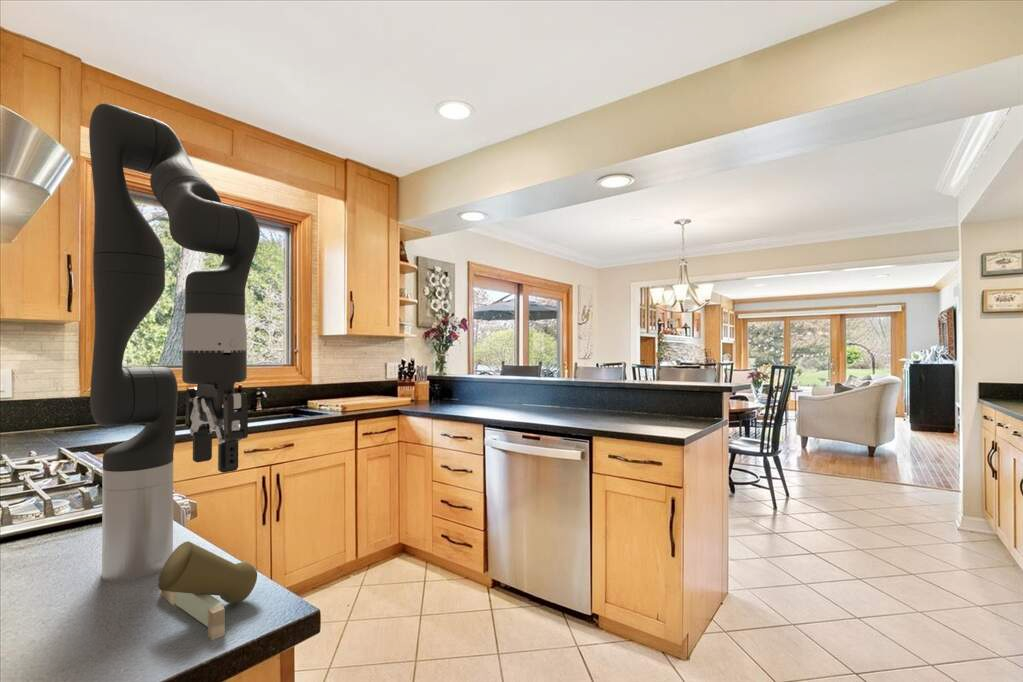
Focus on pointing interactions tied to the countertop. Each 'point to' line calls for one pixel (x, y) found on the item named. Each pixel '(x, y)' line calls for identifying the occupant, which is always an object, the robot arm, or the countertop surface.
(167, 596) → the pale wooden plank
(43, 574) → the countertop surface
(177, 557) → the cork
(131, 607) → the countertop surface
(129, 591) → the countertop surface
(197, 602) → the gate door
